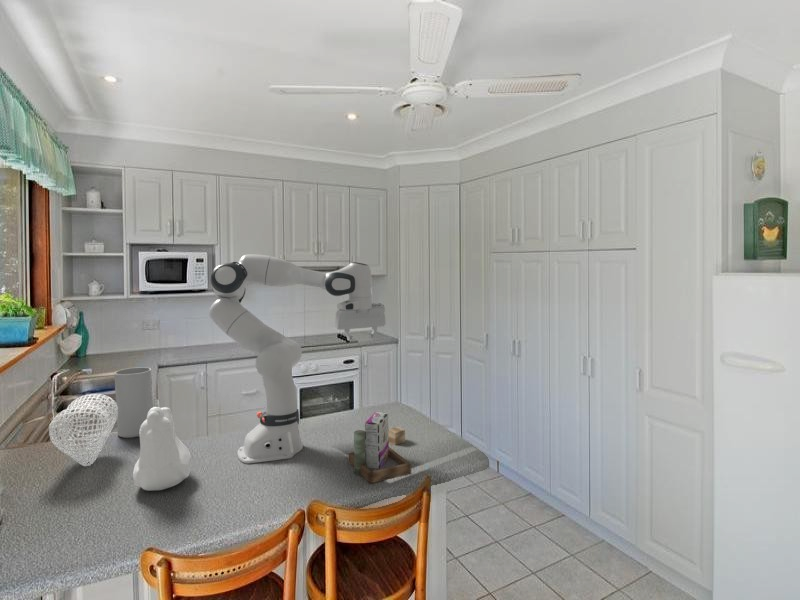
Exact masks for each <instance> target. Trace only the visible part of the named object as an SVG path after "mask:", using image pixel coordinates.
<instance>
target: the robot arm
mask: <svg viewBox="0 0 800 600" xmlns="http://www.w3.org/2000/svg"><path fill="white" fill-rule="evenodd" d="M210 284H211V287H212V290H213V292H214V295H215V297H216V299H215V301H214V302H213V303H212V304H211V305H210V308H209V309H208V310H209V311H208V314H209V317H210V318H211V320H212V322H214V323H215V324H216V325H217V327H219V329H220V330H221V331H222V332H223V333H225V334H226V335H227V336H229V338H230V339H232V340H233V341H234V342H236V344H238V345H239V346H240V347H242V348H243V349H245V350H246V351H250V352H253V353H255V354H257V357H256V359H255V368H256V371H257V373H258V374H259V375H260V376H261V380H262V383H263V388H264V398H265V405H264V406H265V410H264V411H263V412H262V411H258V412H257V413H256V417H257V418H258V419H259V422H260V423H258V424H257V425H256V426H255V427H253V428H252V429H251V430H250V431H249V432H248V433H247V434H245V437H244V442H243V446H240V447H239V448H238V449H237V458H238V460H239V461H240V462H242V463H244V464H254V463H255V464H256V463H263V462H269V461H270V462H271V461H278V460H288V459H291V458H293V457H294V455H296V454H298V453H299V452H300V451H301V450H303V448H304V445H303V442H302V438H301V434H300V428H299V424H300V411H299V408H298V387H297V386H296V385H295V381H294V377H293V373H292V371H293V368H294V367H295V366H296V365H298V363H299V361H300V360H301V357H302V353H303V350H302V346H301V345H300V344H299V342H297V341H296V340H293V339H291V338H288V337H287V336H285V335H283V334H282V333H281V332H279V331H277V330H275V329H273V328H271V327H270V326H269V325H267V324H266V323H264V322H263V321H262V320H261V319H259V318H258V317H257V316H256V315H254V313H252V312H250V310H248V309H247V308H245V307H244V305H242V304H241V303H242V300H243V299H244V297H245V295H246V286H248V285H251V284H252V285H253V284H259V285H264V286H268V287H278V288H279V287H288V286H293V285H302V286H303V285H304V286H308V287H309V286H310V287H316V288H321V289H324V290H325V291H326V292H327V293H328V294H330V295H331V296H334V297H342V296H344V295H348V299H347V300H344V301H342V302H339V303H337V304H336V308H337V311H336V313H335V319H334V327H335V328H336V329H337V330H343V331H344V334H345V335H346V339H347V341H349V342H350V341H353V335H351V334H350V332H351V331H350V330H352V329H364V328H365V329H366V328H371V330H372V331H371V333H369V336H368V337H369V339H371V340H372V339H375V338H376V337H375V334H376V333H377V330H378V328H379V327H385V325H386V314H385V313H386V311H385V310H386V307H385V305H384V304H382V303H380V302H378V303H373V295H372V289H371V288H372V286H373V285H372V284H373V279H372V272H371V267H370V266H369V265H368V264H366V263H362V262H356V261H353V262H350V263H349V264H347V265H346V266H344V267H341V268H339V269H336V270H331V271H325V272H324V271H318V270H312V269H307V268H303V267H300V266H299V265H296V264H294V263H292V262H291V261H288V260H286V259H283V258H280V257H277V256H273V255H272V256H271V255H267V254H266V255H264V254H258V253H257V254H254V253H250V254H243V255H242V256H241V257H240V258H239V260H238V262H237V261H233V262H229V263H228V262H226V263H221V264H219V265H217V266H215V267H214V268H213V270H212V271H211V274H210Z"/></svg>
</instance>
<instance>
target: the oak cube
mask: <svg viewBox="0 0 800 600" xmlns="http://www.w3.org/2000/svg"><path fill="white" fill-rule="evenodd" d="M405 441H406V429H403V428H401V427H399V426H396V427H392V428H388V442H390V443H392V444H394V445H393V446H396V445H400V444H404V443H406V442H405ZM403 442H404V443H403Z"/></svg>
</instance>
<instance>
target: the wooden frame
mask: <svg viewBox="0 0 800 600" xmlns="http://www.w3.org/2000/svg"><path fill="white" fill-rule="evenodd" d="M347 456H348V458H347V460H348V461H347V462H348V463H349V464H350V465H351V466H352V467H353V468H354V473H355V475H361V476H362V477H363V479H364V480H366V481H367V483H369V484H373V483H378V482H382V481H385V480H389V479H393V478H397V477H401V476H407V475H408V474H412V464H411V463H410V462H409V461H407V459H405V458H404V457H403V456H402V455H400V454H399V453H398V452H397V451H395V450H394V449H393V448H391V447H390V446H389V456H390V457H391V458H392V459H394V461H396V462H397V463H398V465H397V464H396V465H394V466H390V467H389V466H388V467H385V468H382V469H381V468H380V469H378V470H373V471H372V472H371V471H370V470H369V469H368V468H367V467H366V441H365V430H363V429H360V430H359V429H358V430H355V431H353V451H351V452H348V455H347Z"/></svg>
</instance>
